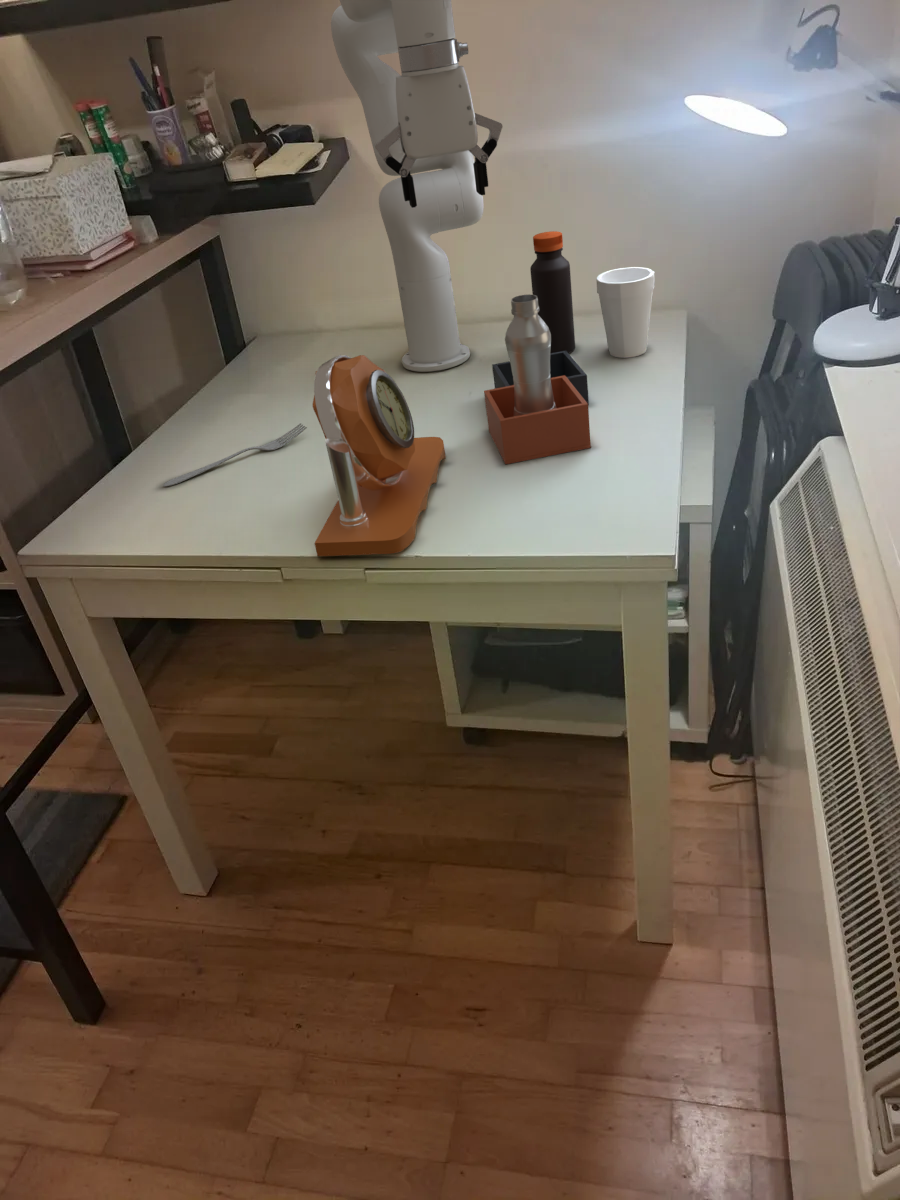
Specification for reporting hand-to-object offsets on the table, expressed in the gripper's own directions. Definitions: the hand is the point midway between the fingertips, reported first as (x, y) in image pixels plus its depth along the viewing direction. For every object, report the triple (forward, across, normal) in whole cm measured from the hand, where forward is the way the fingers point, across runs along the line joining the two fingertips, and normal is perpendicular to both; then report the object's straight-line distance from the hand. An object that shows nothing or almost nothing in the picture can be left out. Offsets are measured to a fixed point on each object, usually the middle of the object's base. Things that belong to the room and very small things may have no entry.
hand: (447, 199), depth 130 cm
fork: (+32, +38, -1) cm, 50 cm away
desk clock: (+32, +16, +23) cm, 43 cm away
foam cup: (+32, -30, -16) cm, 47 cm away
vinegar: (+32, -19, -23) cm, 44 cm away
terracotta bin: (+32, -7, +13) cm, 36 cm away
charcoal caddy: (+32, -11, -2) cm, 34 cm away
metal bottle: (+32, -7, +13) cm, 35 cm away
